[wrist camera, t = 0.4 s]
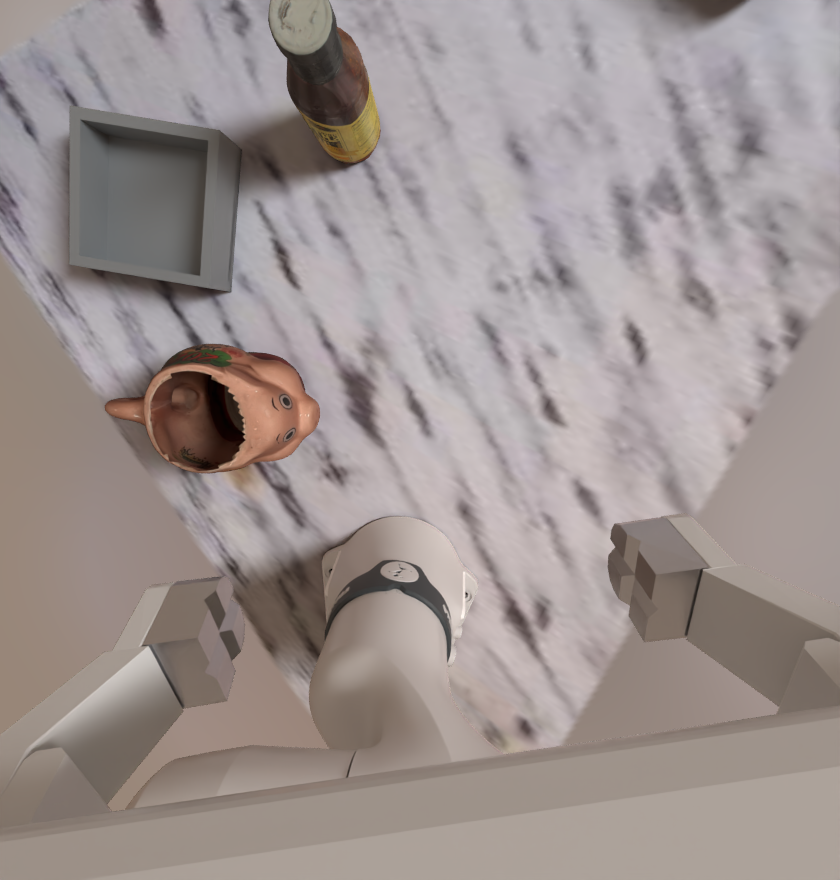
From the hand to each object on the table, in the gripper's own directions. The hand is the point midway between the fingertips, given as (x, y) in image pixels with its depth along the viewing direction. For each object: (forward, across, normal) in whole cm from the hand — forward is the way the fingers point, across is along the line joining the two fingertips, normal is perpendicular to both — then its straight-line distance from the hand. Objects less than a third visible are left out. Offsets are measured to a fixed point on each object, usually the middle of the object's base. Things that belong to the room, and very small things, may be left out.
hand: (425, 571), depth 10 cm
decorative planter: (+45, -17, -13) cm, 50 cm away
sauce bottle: (+50, -2, +11) cm, 52 cm away
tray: (+51, -22, +6) cm, 55 cm away
